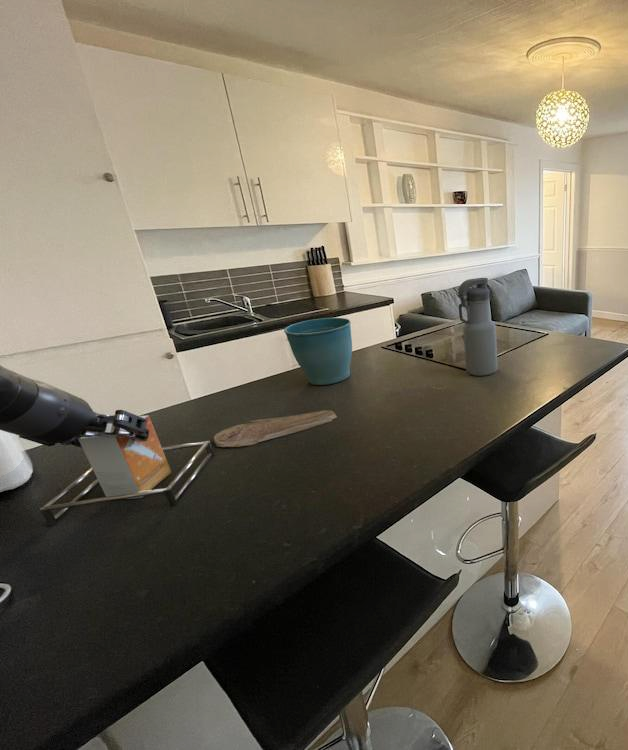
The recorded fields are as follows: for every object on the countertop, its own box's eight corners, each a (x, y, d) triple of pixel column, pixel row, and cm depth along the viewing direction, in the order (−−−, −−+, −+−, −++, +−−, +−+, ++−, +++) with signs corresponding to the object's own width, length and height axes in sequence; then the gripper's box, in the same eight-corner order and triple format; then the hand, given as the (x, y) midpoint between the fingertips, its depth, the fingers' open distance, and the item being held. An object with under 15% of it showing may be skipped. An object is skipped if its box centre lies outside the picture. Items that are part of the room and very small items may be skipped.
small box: (143, 498, 74) (114, 436, 69) (106, 501, 74) (75, 439, 69) (173, 472, 82) (149, 414, 77) (140, 474, 81) (114, 416, 76)
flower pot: (286, 381, 125) (273, 327, 118) (341, 364, 137) (331, 314, 131) (315, 395, 114) (301, 337, 107) (371, 375, 126) (362, 322, 120)
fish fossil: (329, 405, 107) (329, 401, 107) (339, 423, 100) (338, 419, 99) (213, 434, 94) (212, 429, 94) (214, 456, 87) (213, 452, 86)
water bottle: (473, 379, 120) (467, 283, 109) (459, 369, 128) (452, 279, 117) (503, 372, 125) (500, 279, 114) (488, 363, 132) (483, 275, 122)
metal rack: (47, 526, 68) (37, 509, 67) (112, 469, 83) (105, 454, 82) (175, 506, 72) (168, 489, 70) (215, 454, 87) (210, 439, 86)
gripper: (99, 380, 61) (166, 414, 76) (-16, 392, 59) (76, 425, 73) (90, 428, 59) (160, 453, 73) (-32, 443, 56) (67, 466, 71)
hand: (118, 439), depth 73 cm, fingers open, 8 cm apart
